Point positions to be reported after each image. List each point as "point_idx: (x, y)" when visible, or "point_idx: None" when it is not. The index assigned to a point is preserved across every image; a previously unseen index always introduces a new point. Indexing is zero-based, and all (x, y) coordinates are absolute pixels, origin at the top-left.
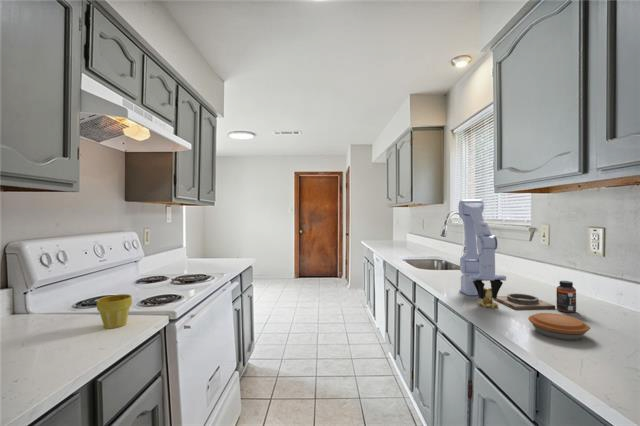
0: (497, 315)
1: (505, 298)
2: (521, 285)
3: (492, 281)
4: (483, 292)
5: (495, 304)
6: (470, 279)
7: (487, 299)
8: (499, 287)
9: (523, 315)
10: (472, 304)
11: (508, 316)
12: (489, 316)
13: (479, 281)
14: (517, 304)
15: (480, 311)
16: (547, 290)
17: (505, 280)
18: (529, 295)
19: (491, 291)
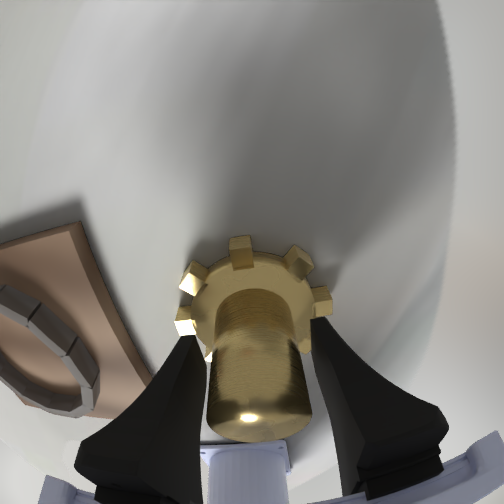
0: (286, 34)
1: (108, 392)
2: (68, 472)
3: (187, 499)
4: (305, 380)
5: (204, 280)
6: (499, 450)
7: (271, 314)
8: (126, 417)
9: (71, 75)
10: (352, 316)
11: (199, 17)
12: (363, 16)
13: (397, 472)
14: (50, 283)
15: (383, 142)
16: (9, 433)
17: (50, 478)
18: (5, 381)
19: (229, 380)
